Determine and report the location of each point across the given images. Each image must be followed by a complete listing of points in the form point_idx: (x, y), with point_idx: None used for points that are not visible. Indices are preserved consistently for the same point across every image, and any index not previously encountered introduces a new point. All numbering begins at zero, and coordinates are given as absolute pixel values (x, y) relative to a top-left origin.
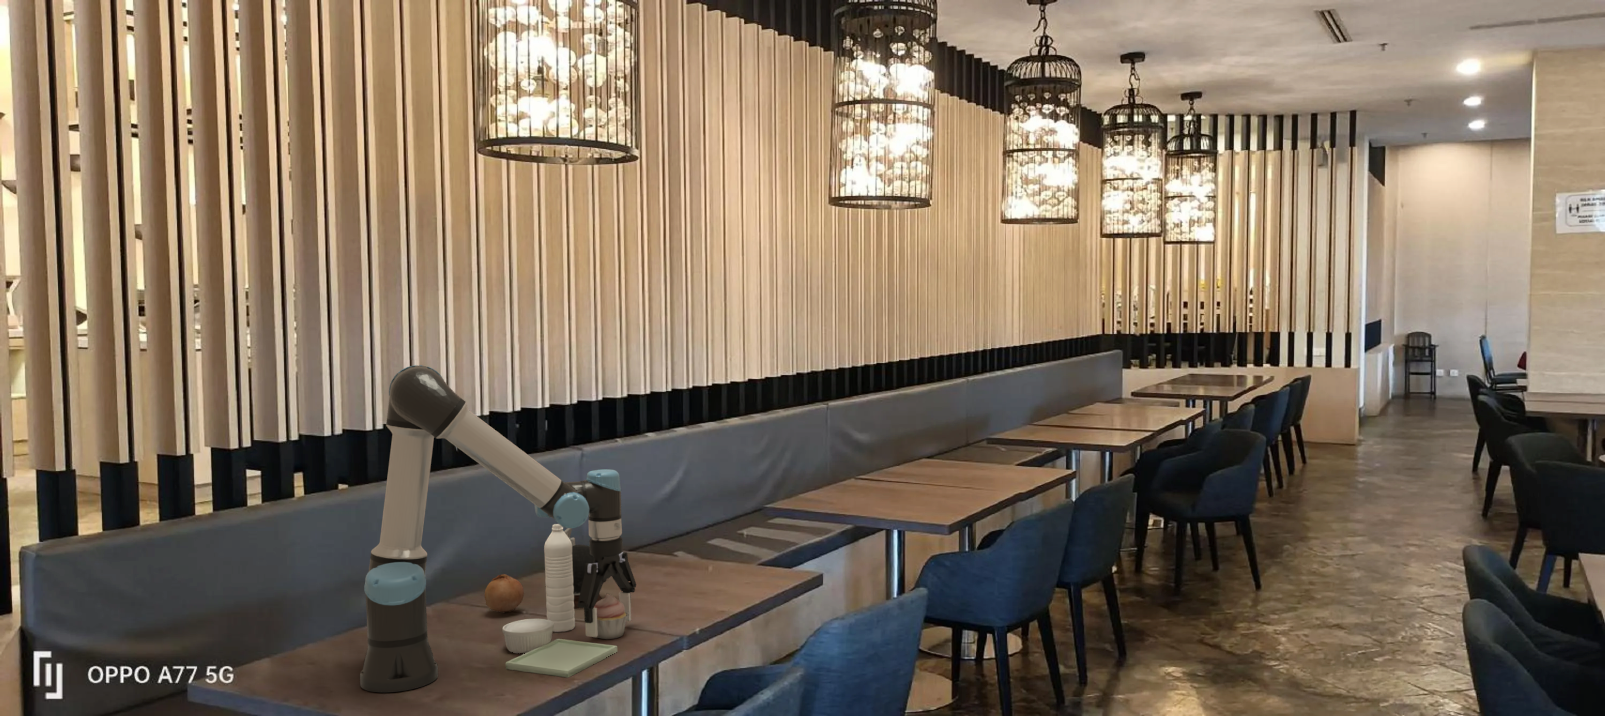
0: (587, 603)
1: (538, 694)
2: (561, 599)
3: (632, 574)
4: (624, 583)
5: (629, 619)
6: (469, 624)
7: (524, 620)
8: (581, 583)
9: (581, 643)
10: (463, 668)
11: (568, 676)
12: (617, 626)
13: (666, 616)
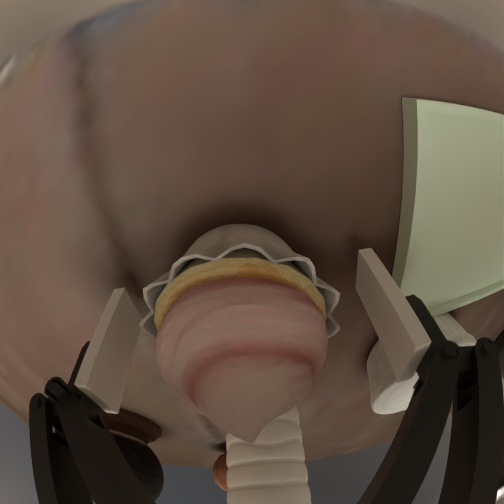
0: (492, 357)
1: None
2: (293, 453)
3: (33, 456)
4: (96, 450)
5: (121, 291)
6: (307, 441)
7: (387, 410)
8: (131, 456)
9: (412, 253)
10: (497, 321)
11: None
12: (260, 242)
13: (7, 260)
